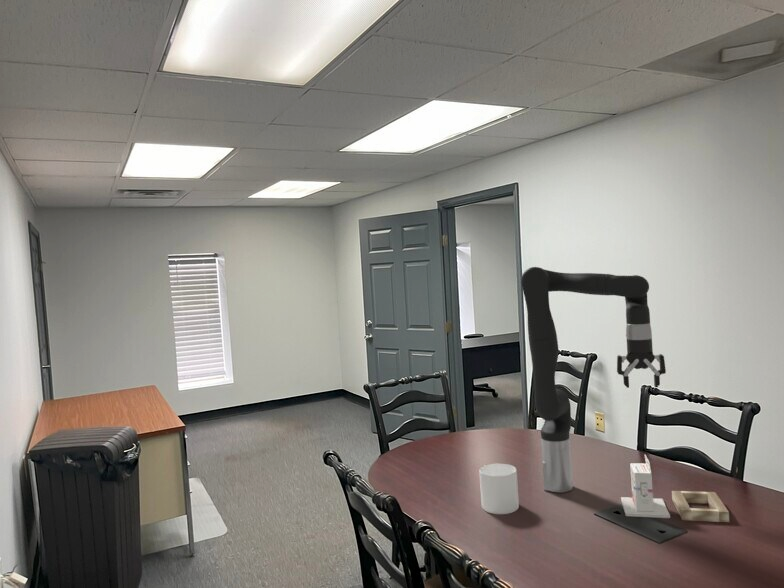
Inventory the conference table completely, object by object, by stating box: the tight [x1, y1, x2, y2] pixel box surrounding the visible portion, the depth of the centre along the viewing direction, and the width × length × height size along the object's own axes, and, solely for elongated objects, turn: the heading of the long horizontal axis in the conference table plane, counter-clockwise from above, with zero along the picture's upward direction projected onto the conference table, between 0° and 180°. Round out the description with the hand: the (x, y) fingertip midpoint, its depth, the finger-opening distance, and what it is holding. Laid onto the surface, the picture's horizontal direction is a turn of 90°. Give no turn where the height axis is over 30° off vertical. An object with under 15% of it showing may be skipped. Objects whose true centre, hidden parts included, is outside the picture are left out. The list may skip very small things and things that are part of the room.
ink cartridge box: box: [629, 454, 654, 511], centre depth 171 cm, size 9×5×15 cm, turn 167°
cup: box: [478, 462, 520, 515], centre depth 180 cm, size 12×12×12 cm
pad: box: [620, 496, 671, 519], centre depth 171 cm, size 12×12×1 cm
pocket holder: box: [671, 490, 730, 523], centre depth 167 cm, size 12×14×3 cm
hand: (641, 387), depth 183 cm, fingers open, 8 cm apart
